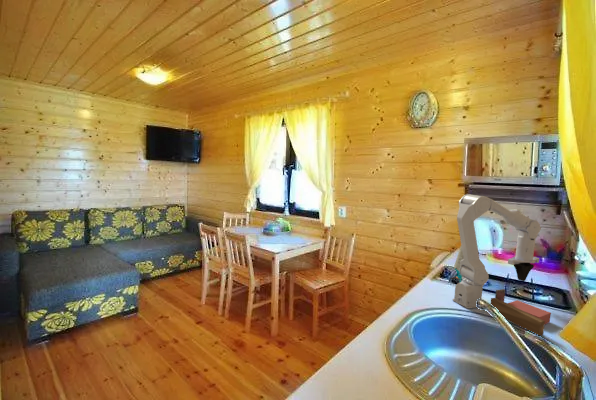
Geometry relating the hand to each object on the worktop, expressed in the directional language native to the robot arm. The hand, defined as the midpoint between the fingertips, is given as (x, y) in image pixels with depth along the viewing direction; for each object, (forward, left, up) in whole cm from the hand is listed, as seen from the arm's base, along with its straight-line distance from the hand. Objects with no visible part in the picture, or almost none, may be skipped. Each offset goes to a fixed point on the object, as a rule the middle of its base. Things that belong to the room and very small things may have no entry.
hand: (521, 280), depth 123 cm
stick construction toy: (-6, +25, -10) cm, 27 cm away
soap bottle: (+11, +37, -10) cm, 40 cm away
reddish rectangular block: (-10, -11, -10) cm, 18 cm away
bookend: (-15, -3, -9) cm, 18 cm away
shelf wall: (-18, -12, -9) cm, 24 cm away
